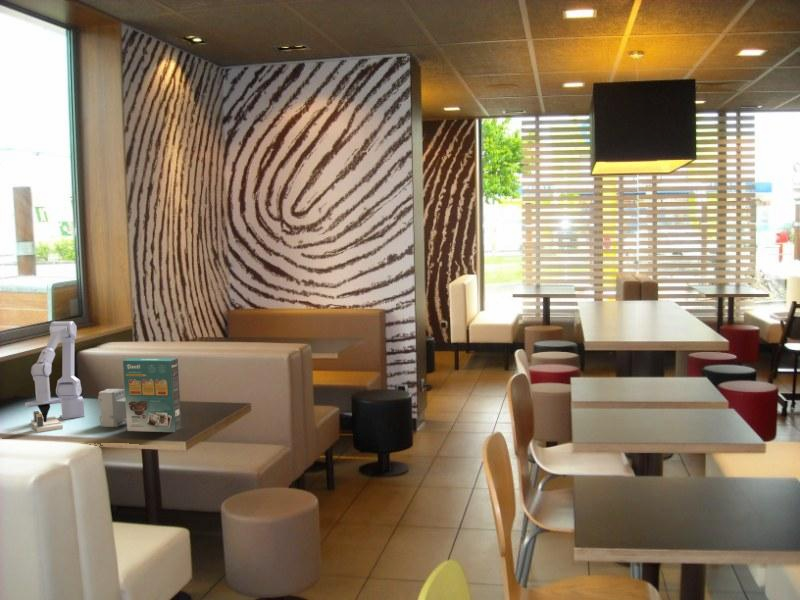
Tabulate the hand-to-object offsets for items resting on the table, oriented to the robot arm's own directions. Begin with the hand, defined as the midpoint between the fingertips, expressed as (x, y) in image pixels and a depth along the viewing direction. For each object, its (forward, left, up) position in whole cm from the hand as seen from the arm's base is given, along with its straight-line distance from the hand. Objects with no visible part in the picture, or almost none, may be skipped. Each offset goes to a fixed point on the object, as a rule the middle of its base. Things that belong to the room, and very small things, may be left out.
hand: (45, 421), depth 368 cm
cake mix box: (-38, +32, -3) cm, 50 cm away
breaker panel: (-1, -5, -3) cm, 6 cm away
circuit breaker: (-28, +13, -3) cm, 31 cm away
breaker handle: (+2, 0, -1) cm, 2 cm away
